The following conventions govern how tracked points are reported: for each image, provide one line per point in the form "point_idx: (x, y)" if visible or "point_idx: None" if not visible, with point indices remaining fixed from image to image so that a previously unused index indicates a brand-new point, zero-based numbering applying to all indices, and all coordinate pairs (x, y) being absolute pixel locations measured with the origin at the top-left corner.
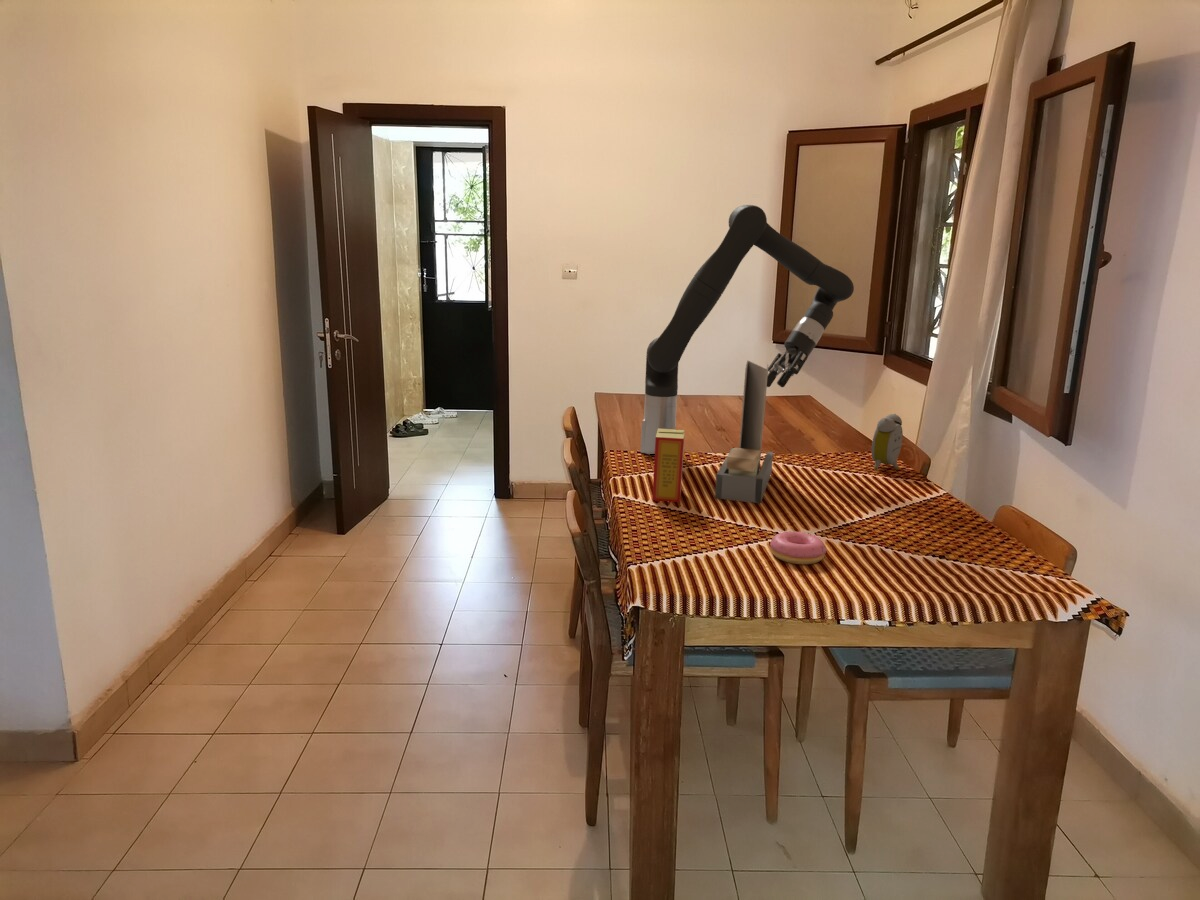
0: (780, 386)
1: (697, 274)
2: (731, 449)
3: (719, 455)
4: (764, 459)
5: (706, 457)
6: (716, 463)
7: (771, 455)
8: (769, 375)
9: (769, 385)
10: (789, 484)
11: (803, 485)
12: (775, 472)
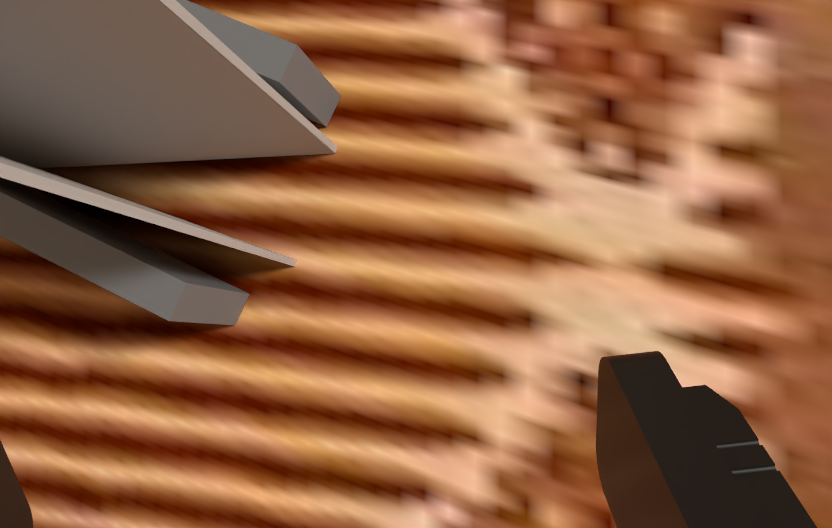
0: (21, 495)
1: None
2: (262, 32)
3: (692, 105)
4: (2, 194)
5: (635, 3)
6: (482, 39)
7: (92, 278)
8: (674, 521)
9: (603, 480)
10: (37, 360)
11: (13, 436)
12: (267, 366)
